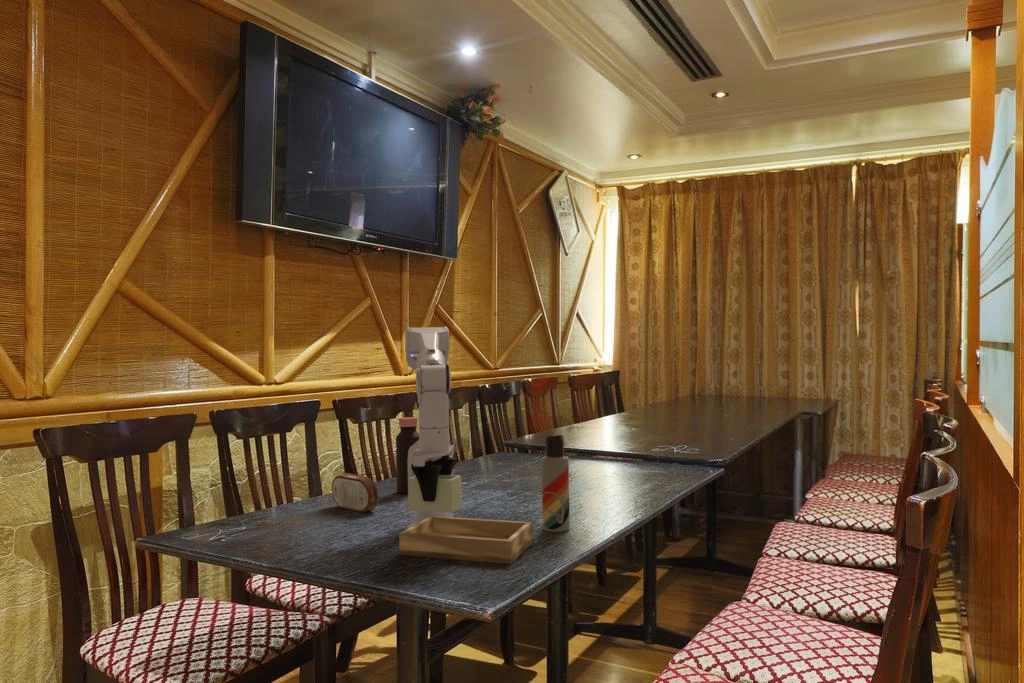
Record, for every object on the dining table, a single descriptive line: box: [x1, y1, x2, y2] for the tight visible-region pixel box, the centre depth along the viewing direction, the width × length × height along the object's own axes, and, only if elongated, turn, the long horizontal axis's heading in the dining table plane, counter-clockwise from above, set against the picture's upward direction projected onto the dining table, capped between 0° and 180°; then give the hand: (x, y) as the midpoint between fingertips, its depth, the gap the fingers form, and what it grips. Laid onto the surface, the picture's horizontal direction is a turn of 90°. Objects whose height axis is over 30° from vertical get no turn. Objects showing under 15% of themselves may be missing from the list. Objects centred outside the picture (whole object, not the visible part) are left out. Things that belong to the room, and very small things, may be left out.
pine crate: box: [398, 516, 534, 565], centre depth 134 cm, size 14×22×4 cm, turn 72°
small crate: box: [407, 474, 463, 513], centre depth 133 cm, size 5×9×6 cm, turn 72°
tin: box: [331, 472, 379, 513], centre depth 168 cm, size 15×3×8 cm, turn 51°
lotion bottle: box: [541, 434, 571, 533], centre depth 147 cm, size 6×6×20 cm
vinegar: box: [395, 416, 419, 495], centre depth 188 cm, size 7×7×20 cm
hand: (435, 498), depth 133 cm, fingers closed on small crate, 5 cm apart
